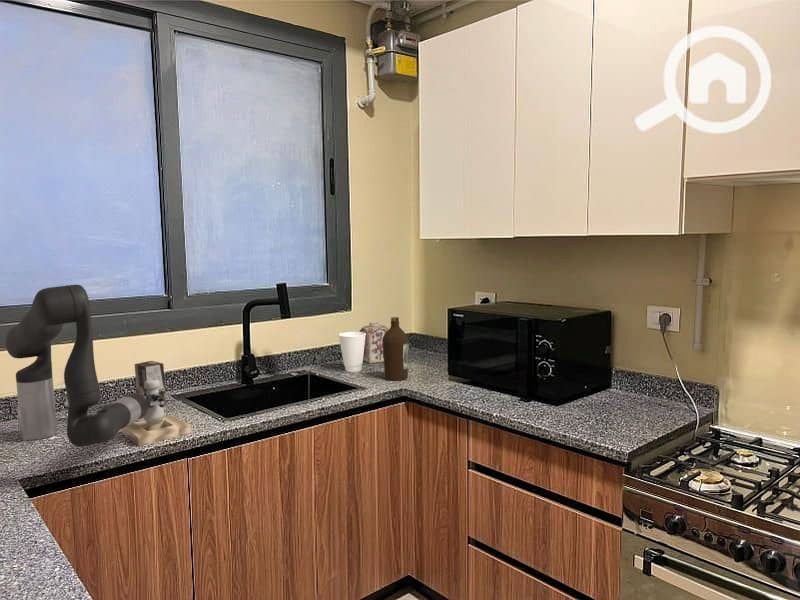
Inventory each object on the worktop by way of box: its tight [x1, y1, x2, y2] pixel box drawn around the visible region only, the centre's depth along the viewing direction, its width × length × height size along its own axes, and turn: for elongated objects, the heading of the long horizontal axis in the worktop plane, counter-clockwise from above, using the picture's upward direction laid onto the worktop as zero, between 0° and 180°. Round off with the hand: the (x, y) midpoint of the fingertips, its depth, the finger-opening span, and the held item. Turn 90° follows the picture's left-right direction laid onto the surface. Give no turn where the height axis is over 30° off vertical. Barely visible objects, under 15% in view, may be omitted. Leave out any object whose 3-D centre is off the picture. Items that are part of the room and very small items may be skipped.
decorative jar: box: [358, 321, 390, 364], centre depth 270 cm, size 12×12×18 cm
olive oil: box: [382, 316, 410, 382], centre depth 233 cm, size 11×11×25 cm
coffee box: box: [134, 360, 167, 411], centre depth 197 cm, size 9×6×16 cm
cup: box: [338, 331, 366, 373], centre depth 250 cm, size 12×12×16 cm
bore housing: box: [121, 414, 192, 447], centre depth 172 cm, size 15×15×2 cm
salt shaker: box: [142, 379, 165, 425], centre depth 172 cm, size 6×6×13 cm
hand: (156, 394), depth 174 cm, fingers closed on salt shaker, 3 cm apart
